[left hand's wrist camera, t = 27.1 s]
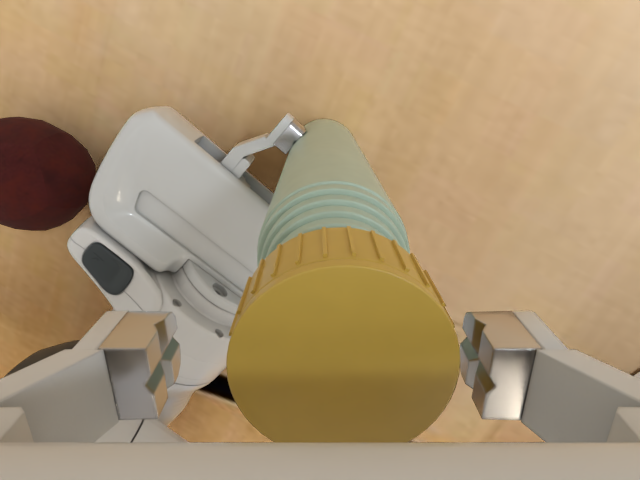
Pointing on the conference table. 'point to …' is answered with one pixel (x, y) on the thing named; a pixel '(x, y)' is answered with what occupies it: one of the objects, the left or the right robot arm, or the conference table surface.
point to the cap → (341, 342)
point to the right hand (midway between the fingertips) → (334, 155)
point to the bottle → (327, 191)
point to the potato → (41, 174)
